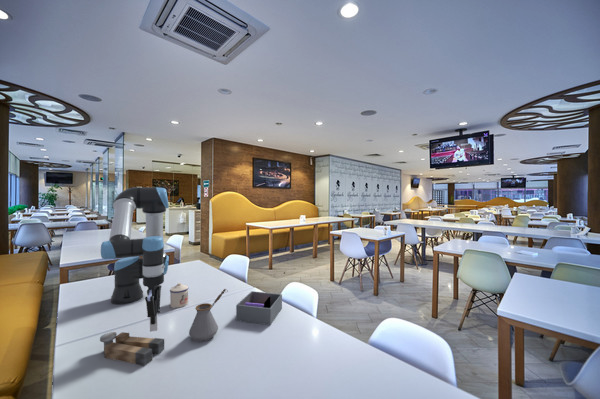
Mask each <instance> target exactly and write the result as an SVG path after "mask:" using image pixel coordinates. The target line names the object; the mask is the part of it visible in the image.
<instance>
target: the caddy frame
mask: <svg viewBox="0 0 600 399" xmlns="http://www.w3.org/2000/svg"><path fill="white" fill-rule="evenodd" d="M268 297H270V308H262V307H254V306H246V305H245V303H258V304H264V303H265V301H266V300H267V299H268ZM235 307H236V308H235V310H236V311H235V314H236V315H235V317H236V318H235V319H236V322H242V323H243V322H244V323H252V324H258V325H265V326H271V325H273V324H272V323H273V322H274V321H275V320H276V318H277V317H278V315H279V313H280V312H281V311H282V310H283V294H282V293H272V292H263V291H252V290H251V291H250V292H249V293H248V294H247V295H246V296H244V298H242V299H241V300H240V301H239V302H238V303H236V306H235Z"/></svg>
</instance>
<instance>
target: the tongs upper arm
mask: <svg viewBox="0 0 600 399" xmlns="http://www.w3.org/2000/svg"><path fill="white" fill-rule="evenodd" d="M111 340H113V341H114V340H115V342H114V343H120V344H125V345H131V346H136V347H142V348H143V347H144V348H150V349H152V355H160V354H161V353H162V352H163V351H164V350H165V338H157V337H154V338H153V337H152V338H151V337H141V336H130V332H120V333H119V334H117V332H116V331H110V332H107V333H103V334H102V335H101V336H100V337H99V342H101V343H104V342H108V341H111Z"/></svg>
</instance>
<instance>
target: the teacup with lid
mask: <svg viewBox="0 0 600 399" xmlns="http://www.w3.org/2000/svg"><path fill="white" fill-rule="evenodd" d="M169 292H170V296H169V297H170V298H169V299H170V302H169V303H170V305H169V306H170V307H171V308H173V309H178V308H183V307H186V306H187V305H188V304H189V286H188V285H186V284H182V283H181V282H177V284H176V285H175V286H172V287H171V288H169Z"/></svg>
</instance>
